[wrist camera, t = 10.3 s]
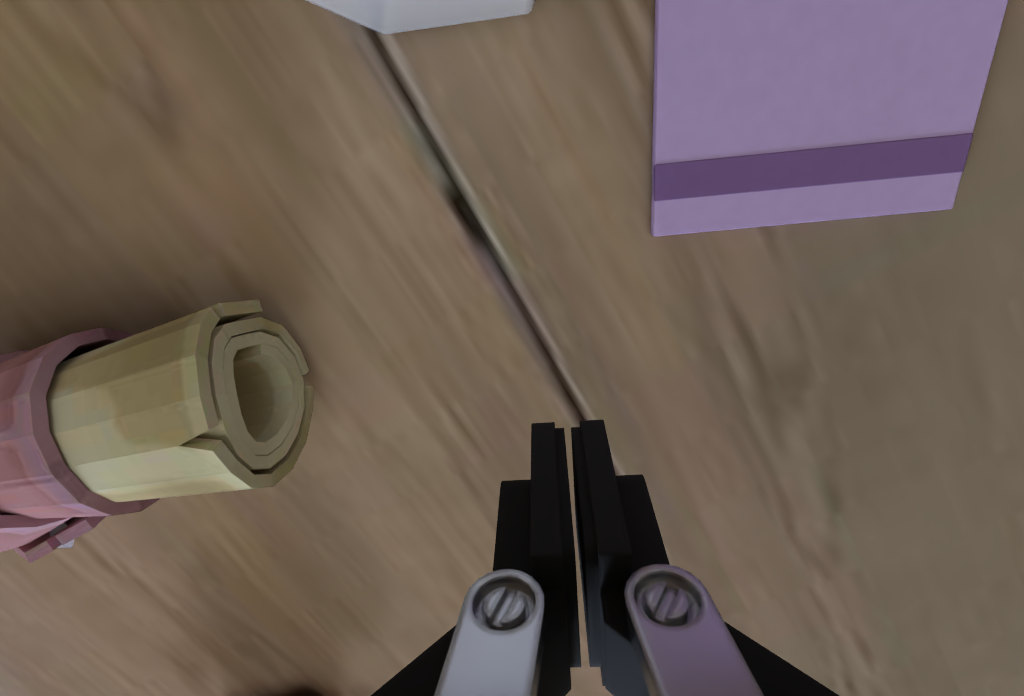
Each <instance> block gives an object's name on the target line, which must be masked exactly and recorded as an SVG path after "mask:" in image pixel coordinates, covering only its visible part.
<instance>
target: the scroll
mask: <svg viewBox="0 0 1024 696" xmlns="http://www.w3.org/2000/svg"><path fill="white" fill-rule="evenodd" d="M262 311H263V310H262V307H261V304H260V302H259V300H249V301H237V302H225V303H218V304H215V305H213V306H210V307H208V308H205V309H202V310H200V311H197V312H195V313H192V314H189V315H187V316H184V317H182V318H179V319H176V320H173V321H171V322H168V323H165V324H163V325H160V326H157V327H155V328H152V329H149V330H146V331H144V332H141V333H138V334H136V335H134V334H130V333H126V332H121V331H117V330H112V329H108V328H104V327H101V328H97V329H92V330H87V331H83V332H78V333H73V334H69V335H67V336H65V337H62V338H60V339H57V340H55V341H52V342H50V343H48V344H45V345H43V346H40V347H38V348H36V349H33V350H31V351H25V350H23V351H17V352H12V353H6V354H1V355H0V552H3V551H7V550H10V549H13V550H14V551H16V552H17V553H18V554H19V555H21V556H22V557H23V558H24V559H26V560H27V561H28V562H29V563H31V562H33V561H35V560H37V559H38V558H40V557H42V556H44V555H46V554H48V553H49V552H51V551H53V550H55V549H56V548H72V546H73V542H74V539H75V538H77V537H79V536H81V535H83V534H84V533H86V532H88V531H90V530H92V529H93V528H94V527H95V526H96V525H97V524H98V523H99V522H100V521H101V520H103V519H104V518H105V517H106V516H113V515H119V514H126V513H133V512H140V511H142V510H144V509H145V508H147V507H148V506H150V505H151V504H153V503H154V502H156V501H157V500H159V499H161V498H165V497H175V496H185V495H195V494H205V493H215V492H225V491H235V490H244V489H255V488H265V487H273V486H275V485H276V484H277V483H278V482H279V481H280V480H281V479H282V478H283V477H284V476H285V475H286V474H288V473H289V472H290V471H291V470H292V469H293V467H294V465H295V463H296V461H297V459H298V457H299V455H300V453H301V451H302V449H303V447H304V445H305V443H306V440H307V435H308V431H309V426H310V421H311V416H312V411H313V400H314V386H311V385H304V380H303V377H302V376H303V375H305V374H307V373H308V372H309V369H308V367H307V364H306V361H305V359H304V356H303V354H302V351H301V349H300V347H299V346H298V345H297V343H296V342H295V341H294V339H293V338H292V337H291V335H290V334H289V333H288V331H287V330H286V329H285V328H284V326H283V325H280V324H278V323H275V322H272V321H270V320H267V319H264V318H262V317H257V318H252V319H246V320H241V321H236V320H238V319H241V318H244V317H247V316H250V315H253V314H256V313H259V312H262ZM233 321H236V322H233ZM230 322H232V323H230ZM227 323H228V324H227Z"/></svg>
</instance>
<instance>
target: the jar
mask: <svg viewBox="0 0 1024 696" xmlns="http://www.w3.org/2000/svg"><path fill="white" fill-rule="evenodd" d="M305 1H307V2H309V3H312V4H314V5H316V6H319V7H321V8H323V9H325V10H328V11H330V12H332V13H335V14H337V15H339V16H342V17H344V18H346V19H348V20H351V21H353V22H355V23H358V24H360V25H362V26H365V27H367V28H369V29H371V30H374V31H376V32H378V33H381V34H392V33H399V32H406V31H413V30H419V29H426V28H433V27H440V26H447V25H454V24H461V23H468V22H475V21H482V20H489V19H496V18H503V17H510V16H517V15H524V14H528V13H529V12H530V11H531V10H532V9H533V7H534V4H535V2H536V0H305Z"/></svg>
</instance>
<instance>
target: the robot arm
mask: <svg viewBox="0 0 1024 696" xmlns="http://www.w3.org/2000/svg"><path fill="white" fill-rule="evenodd" d="M571 435H572V454H573V474H574V494H575V514H576V529H577V539H578V550H579V560H580V570H581V580H582V591H583V601H584V611H585V622H586V632H587V642H588V653H589V663H590V667H601V675H602V684H603V686H606V689H607V690H608V691H609V692H610V693H611V694H613V695H614V696H839V695H837V694H836V693H834V692H833V691H831V690H830V689H828V688H826V687H825V686H823V685H822V684H820V683H819V682H817V681H816V680H814V679H813V678H811V677H809V676H808V675H806V674H805V673H803V672H802V671H800V670H799V669H797V668H795V667H794V666H792V665H791V664H789V663H788V662H786V661H785V660H783V659H782V658H780V657H778V656H777V655H775V654H774V653H772V652H771V651H769V650H768V649H766V648H764V647H763V646H761V645H760V644H758V643H757V642H755V641H754V640H752V639H750V638H749V637H747V636H746V635H744V634H743V633H741V632H740V631H738V630H737V629H735V628H733V627H732V626H730V625H729V624H727V623H726V622H724V621H723V619H722V617H721V615H720V613H719V611H718V609H717V608H716V606H715V604H714V602H713V600H712V598H711V596H710V595H709V593H708V591H707V589H706V588H705V587H704V585H703V584H702V583H701V581H700V580H699V579H697V578H696V577H695V576H693V575H692V574H691V573H690V572H688V571H686V570H683V569H681V568H679V567H676V566H672V565H669V561H668V558H667V554H666V551H665V547H664V544H663V541H662V537H661V534H660V530H659V527H658V523H657V520H656V517H655V513H654V510H653V506H652V503H651V499H650V496H649V492H648V489H647V486H646V482H645V479H644V477H643V475H622V476H615V471H614V467H613V462H612V457H611V453H610V448H609V443H608V439H607V434H606V429H605V425H604V421H603V420H589V421H580V427H573V428H571ZM570 667H581V656H580V637H579V618H578V599H577V580H576V562H575V548H574V536H573V525H572V513H571V502H570V491H569V479H568V468H567V457H566V446H565V434H564V428H555V423H554V422H551V423H533V424H532V432H531V480H513V481H502V482H501V487H500V498H499V509H498V521H497V532H496V543H495V554H494V565H493V572H490V573H487V574H486V575H484V576H482V577H481V578H479V579H478V580H477V581H476V582H475V583H474V584H473V585H472V586H471V587H470V588H469V590H468V592H467V594H466V596H465V599H464V602H463V605H462V608H461V612H460V615H459V618H458V621H457V624H456V626H455V627H453V628H452V629H451V630H450V631H449V632H447V633H446V634H445V635H444V636H443V637H441V638H440V639H439V640H438V641H436V642H435V643H434V644H433V645H432V646H430V647H429V648H428V649H427V650H426V651H424V652H423V653H422V654H421V655H419V656H418V657H417V658H416V659H415V660H413V661H412V662H411V663H410V664H409V665H407V666H406V667H405V668H404V669H403V670H401V671H400V672H399V673H398V674H396V675H395V676H394V677H393V678H392V679H390V680H389V681H388V682H387V683H386V684H384V685H383V686H382V687H381V688H380V689H378V690H377V691H376V692H375V693H373V694H372V695H371V696H565V695H566V694H567V693H568V692H569V691H570V690H571V676H570Z"/></svg>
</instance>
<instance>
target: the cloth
mask: <svg viewBox="0 0 1024 696" xmlns="http://www.w3.org/2000/svg"><path fill="white" fill-rule="evenodd" d="M1007 3H1008V0H655V50H654V101H653V151H652V202H651V234H652V235H653V236H664V235H675V234H686V233H697V232H708V231H719V230H729V229H740V228H751V227H762V226H773V225H783V224H794V223H805V222H816V221H827V220H838V219H848V218H859V217H870V216H881V215H892V214H903V213H913V212H924V211H935V210H946V209H952V208H953V204H954V201H955V197H956V193H957V189H958V186H959V182H960V178H961V175H962V172H963V171H964V167H965V163H966V159H967V156H968V152H969V148H970V144H971V141H972V137H973V130H974V126H975V122H976V118H977V115H978V111H979V107H980V104H981V100H982V96H983V92H984V89H985V85H986V81H987V77H988V74H989V70H990V66H991V62H992V59H993V55H994V51H995V47H996V44H997V40H998V36H999V33H1000V29H1001V25H1002V21H1003V18H1004V14H1005V10H1006V6H1007Z"/></svg>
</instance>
